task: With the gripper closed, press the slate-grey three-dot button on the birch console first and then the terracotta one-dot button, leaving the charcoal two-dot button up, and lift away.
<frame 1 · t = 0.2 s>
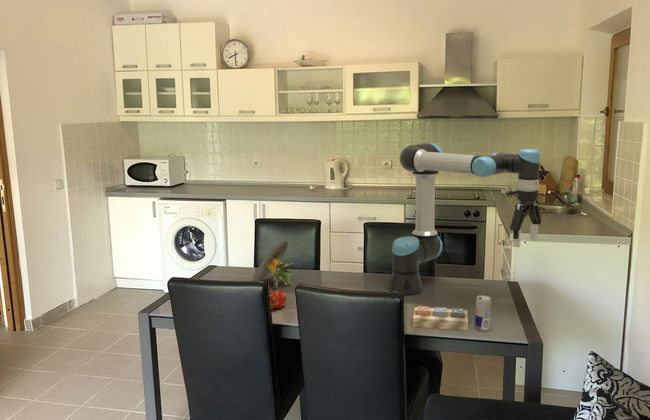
hand: (525, 243, 211), 28 cm above the table, tool pointing down, fingers open, 13 cm apart
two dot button: (458, 313, 204), point 4 cm above the table, slide at 0.0 cm
dragon fruit: (276, 307, 225), on the table
one dot button: (423, 311, 207), point 4 cm above the table, slide at 0.0 cm
potted plant: (276, 285, 253), on the table
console: (440, 322, 206), on the table
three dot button: (440, 312, 205), point 4 cm above the table, slide at 0.0 cm
energy drink: (482, 328, 200), on the table
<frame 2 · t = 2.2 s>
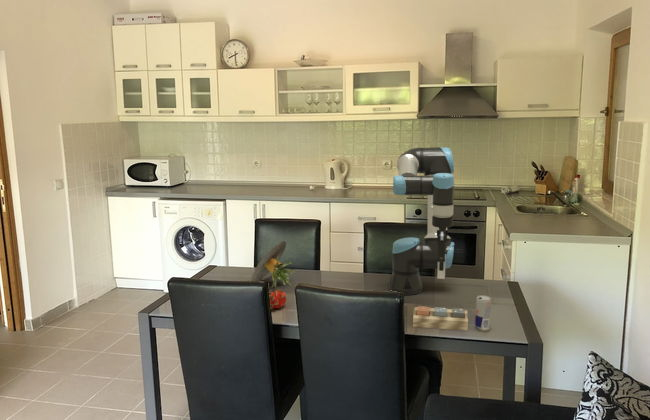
hand: (441, 274, 202), 19 cm above the table, tool pointing down, fingers open, 8 cm apart
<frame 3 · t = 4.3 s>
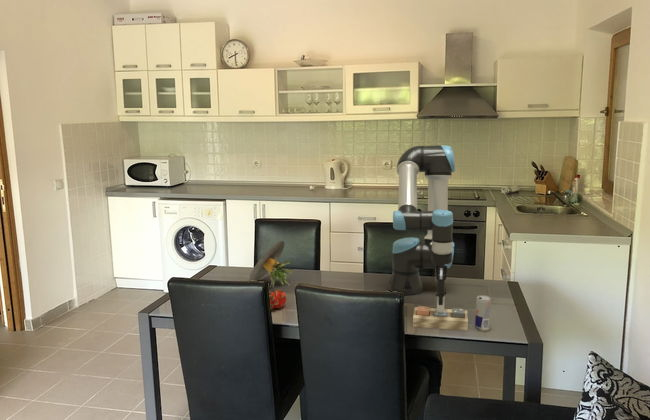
hand: (440, 311, 205), 5 cm above the table, tool pointing down, fingers closed
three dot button: (440, 315, 206), point 3 cm above the table, slide at 1.2 cm, touching gripper
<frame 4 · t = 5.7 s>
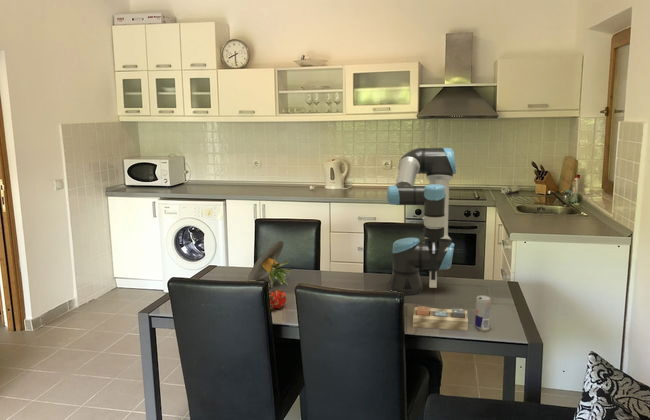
hand: (433, 286, 204), 14 cm above the table, tool pointing down, fingers closed
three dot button: (440, 316, 206), point 3 cm above the table, slide at 1.5 cm
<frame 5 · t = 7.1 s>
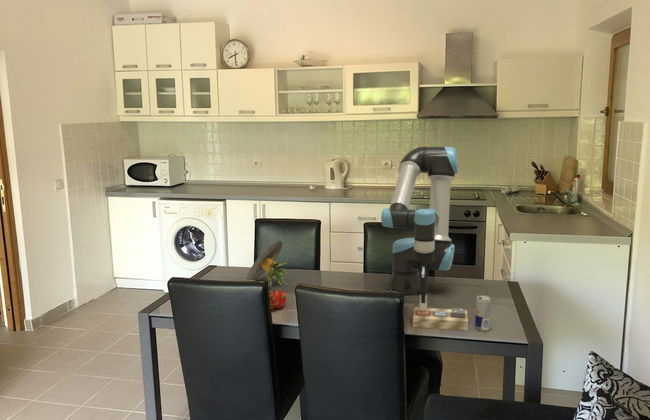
hand: (423, 309, 206), 5 cm above the table, tool pointing down, fingers closed
one dot button: (423, 313, 207), point 3 cm above the table, slide at 1.0 cm, touching gripper
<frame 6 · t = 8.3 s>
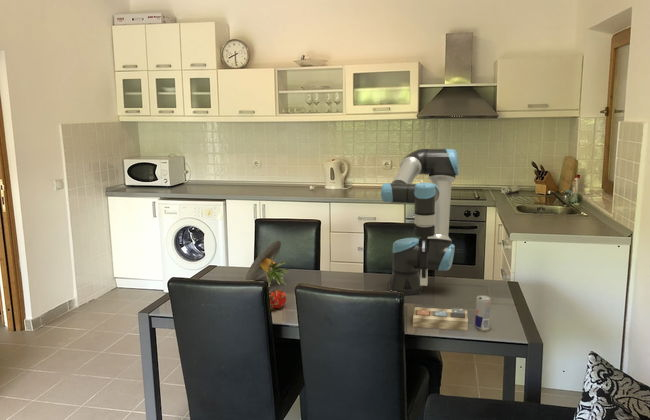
hand: (423, 284, 205), 15 cm above the table, tool pointing down, fingers closed
one dot button: (423, 315, 207), point 3 cm above the table, slide at 1.5 cm
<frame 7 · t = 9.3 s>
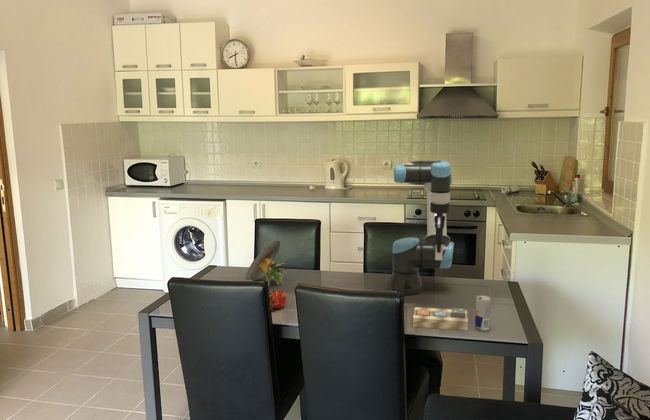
hand: (438, 259, 217), 21 cm above the table, tool pointing down, fingers closed
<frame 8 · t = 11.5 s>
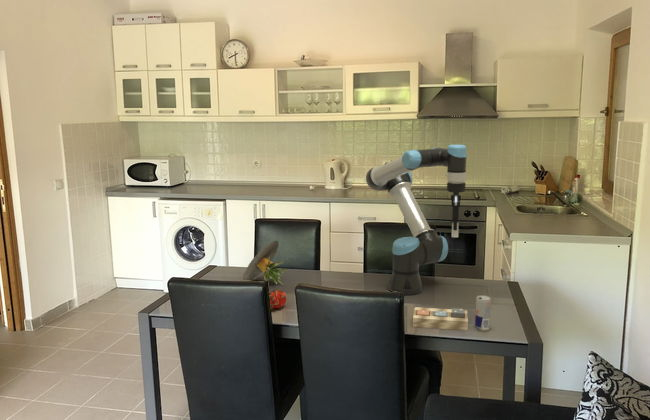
hand: (454, 236, 229), 26 cm above the table, tool pointing down, fingers closed
at the end: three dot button slide at 1.5 cm; one dot button slide at 1.5 cm; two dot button slide at 0.0 cm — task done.
